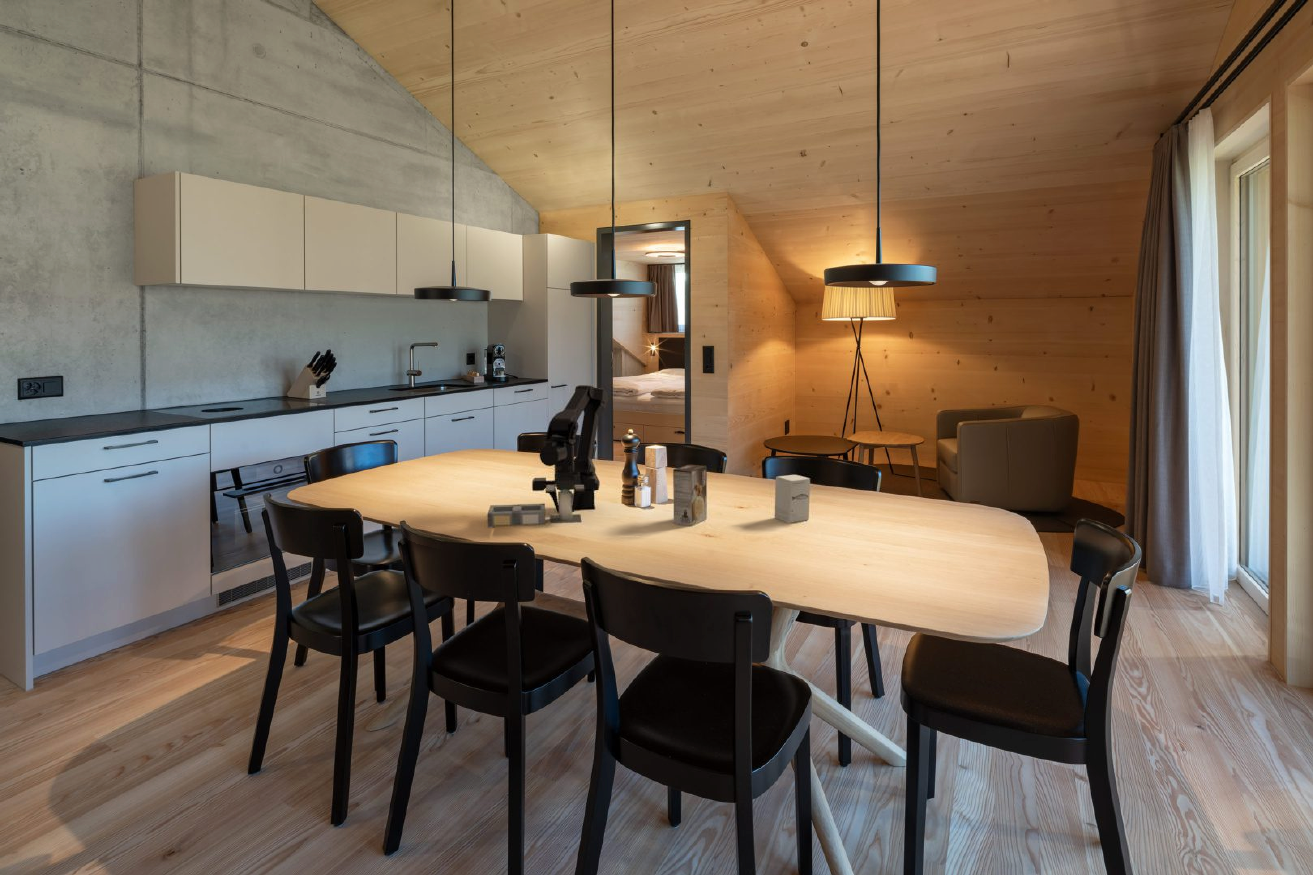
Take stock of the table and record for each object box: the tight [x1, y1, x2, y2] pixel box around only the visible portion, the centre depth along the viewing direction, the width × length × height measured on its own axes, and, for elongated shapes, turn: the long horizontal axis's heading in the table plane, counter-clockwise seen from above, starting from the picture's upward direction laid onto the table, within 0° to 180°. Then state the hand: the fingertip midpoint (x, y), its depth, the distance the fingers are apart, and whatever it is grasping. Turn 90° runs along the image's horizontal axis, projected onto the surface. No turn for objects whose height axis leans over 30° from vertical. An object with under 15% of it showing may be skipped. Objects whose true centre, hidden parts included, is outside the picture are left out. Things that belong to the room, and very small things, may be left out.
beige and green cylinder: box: [557, 489, 573, 520], centre depth 216 cm, size 4×4×9 cm
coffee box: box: [672, 464, 708, 527], centre depth 214 cm, size 9×6×16 cm
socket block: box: [486, 503, 546, 529], centre depth 215 cm, size 16×10×4 cm, turn 98°
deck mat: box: [549, 513, 582, 524], centre depth 217 cm, size 9×9×1 cm
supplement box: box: [774, 474, 811, 524], centre depth 216 cm, size 7×7×13 cm
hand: (565, 512), depth 217 cm, fingers closed on beige and green cylinder, 4 cm apart
